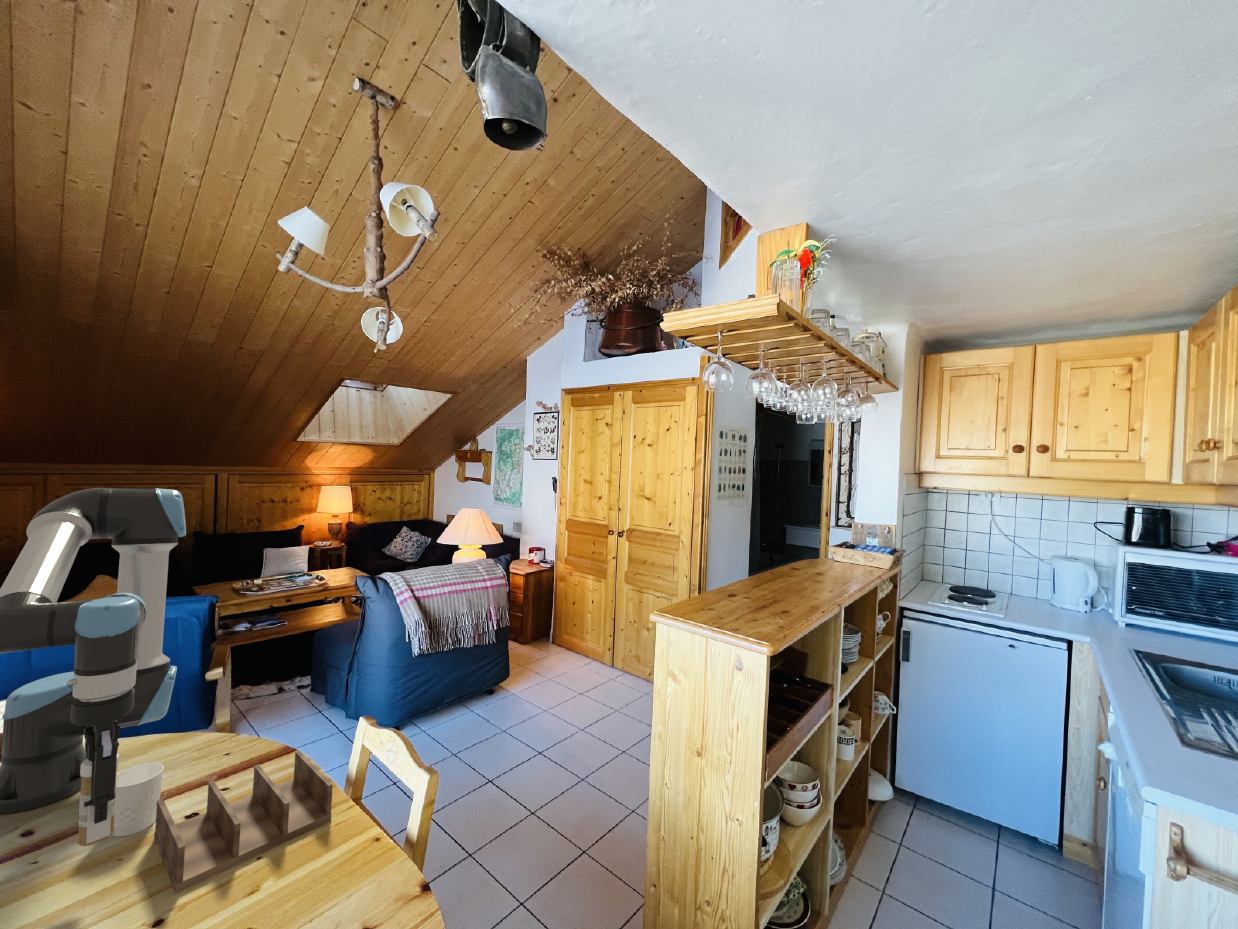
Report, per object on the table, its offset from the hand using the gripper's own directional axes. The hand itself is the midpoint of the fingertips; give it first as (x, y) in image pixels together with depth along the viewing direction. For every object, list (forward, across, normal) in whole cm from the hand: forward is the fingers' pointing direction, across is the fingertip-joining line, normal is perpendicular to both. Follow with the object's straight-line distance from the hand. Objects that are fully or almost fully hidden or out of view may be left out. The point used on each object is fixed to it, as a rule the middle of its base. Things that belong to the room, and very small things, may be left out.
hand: (96, 830), depth 86 cm
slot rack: (+9, +3, +21) cm, 23 cm away
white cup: (+10, -14, +7) cm, 19 cm away
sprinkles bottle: (+1, 0, 0) cm, 1 cm away
